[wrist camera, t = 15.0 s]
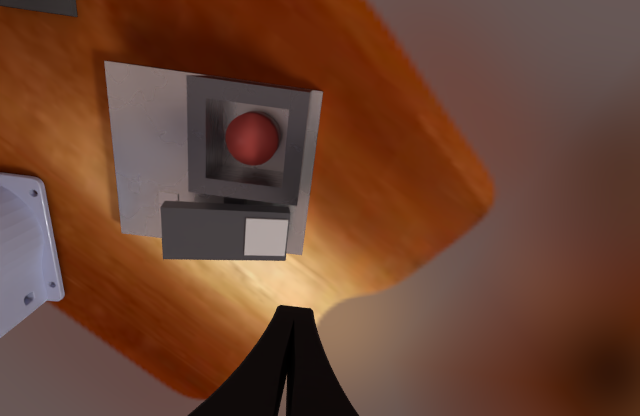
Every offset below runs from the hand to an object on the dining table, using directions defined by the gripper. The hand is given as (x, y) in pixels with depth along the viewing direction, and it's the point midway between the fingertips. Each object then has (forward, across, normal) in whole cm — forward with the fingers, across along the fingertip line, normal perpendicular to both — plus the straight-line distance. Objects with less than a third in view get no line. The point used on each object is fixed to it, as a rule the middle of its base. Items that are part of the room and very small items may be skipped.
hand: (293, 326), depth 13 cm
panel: (+10, +6, -3) cm, 12 cm away
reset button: (+9, +4, -6) cm, 11 cm away
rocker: (+7, +4, 0) cm, 8 cm away
